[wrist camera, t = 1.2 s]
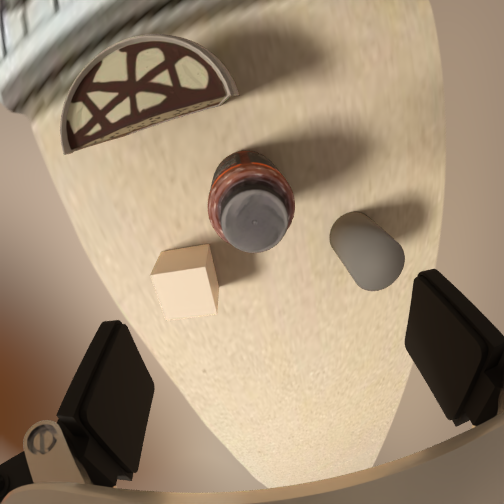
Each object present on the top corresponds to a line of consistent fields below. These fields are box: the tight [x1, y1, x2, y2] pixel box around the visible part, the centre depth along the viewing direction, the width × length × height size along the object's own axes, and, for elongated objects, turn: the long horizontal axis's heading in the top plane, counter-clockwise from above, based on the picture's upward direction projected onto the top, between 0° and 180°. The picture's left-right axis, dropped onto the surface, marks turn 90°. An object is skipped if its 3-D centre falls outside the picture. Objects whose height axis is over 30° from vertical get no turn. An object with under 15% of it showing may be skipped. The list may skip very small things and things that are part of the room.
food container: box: [60, 34, 239, 155], centre depth 20 cm, size 12×6×10 cm, turn 104°
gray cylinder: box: [330, 212, 405, 291], centre depth 28 cm, size 5×5×7 cm
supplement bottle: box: [208, 151, 295, 253], centre depth 23 cm, size 6×6×11 cm
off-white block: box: [150, 244, 219, 321], centre depth 30 cm, size 5×5×5 cm
